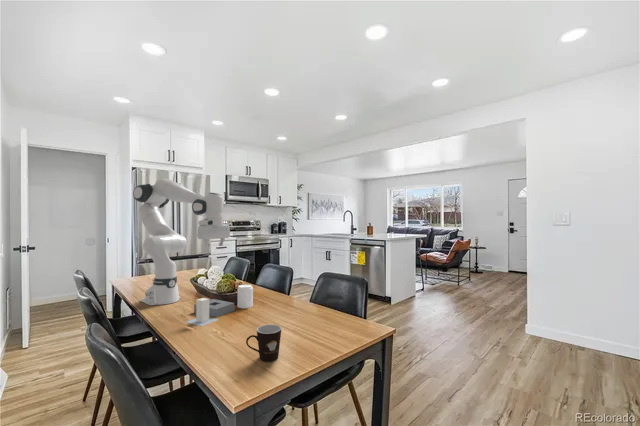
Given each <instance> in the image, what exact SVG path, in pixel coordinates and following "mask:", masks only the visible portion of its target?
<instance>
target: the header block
mask: <svg viewBox="0 0 640 426" xmlns="http://www.w3.org/2000/svg"><path fill="white" fill-rule="evenodd" d="M193 312H194V313H195V314H196V303H195V304H194V303H193ZM232 312H235V302H231V301H226V300H221V299H216V298H215V299H214V298H211V299H209V317H211V318H219V317H222V316H224V315H227V314H230V313H232Z"/></svg>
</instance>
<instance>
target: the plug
mask: <svg viewBox="0 0 640 426" xmlns="http://www.w3.org/2000/svg"><path fill="white" fill-rule="evenodd" d="M209 300H210V298H206V297H201V298H198V299H196V300H195V302H196V303H195V304H196V313H195V319H196V322H201V323H203V322H206V321H209V317H210V316H209Z"/></svg>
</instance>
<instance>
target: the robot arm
mask: <svg viewBox="0 0 640 426" xmlns="http://www.w3.org/2000/svg"><path fill="white" fill-rule="evenodd" d="M132 196H133V198H134V201H136V202H140V203H142V204H141V205H140V206H139V208H138V213H139V217H140V220H141V223H142V224H143V226H144V228H145V229H146V231H147V233H148V234H149V235H151V236H149V237H146V238H145V240H144V241H143V243H142V248H143V251H144V253H146V254H147V255H149V257H151V259H152V261H153V263H154V264H153V265H154V278H153V279H152V284H151V286H150V287H149V288H147V289H146V291H145V295H144V297H143V298H141V299H140V302H142V303H144V304H146V305H148V306H157V305H159V306H160V305H168V304H173V303H176V302H178V301H179V300H180V299H181V296H180V295H179V286H178V276H177V264H176V262H175V261H173V260H172V259H170V255H169V254H174V253H176V254H177V253H179V252H183V251H184V250H185V249H186V247H187V245H188V241H187V238H186V237H185V236H184V235H181V234H180V233H178V232H176V231H175V230H174V229H173V228H171V227H170V226H169V225H168V223H167V222H166V220H165V219H164V217H163V215H162V213H161V212H160V209H162V208H164V207H165V206H166V205H167V204H168V203H169V202H170V201H171V202H176V203H185V204H192V205H191V209H192V212H193V214H194V215H196V216H199V217H200V216H202V217H203V216H204V217H205V216H206V218H204V219H201V220H199V221H198V222H197V224H198V227H197V232H196V233H197V234H196V235H197V239H198V240H203V243H204V244H205V245H204V247H205V248H210V243H209V242H208V241H209V240H210V239H211V240H212V239H220V241H219V242H218V246H219V247H223V246H224V242H225V239H226V238H227V239H228V238H230V237H231V236H230V235H231V229H230V223H229V222H228V221H224V214H223V212H224V197H223V195H222V194H220V193H217V192H207V194H206V195H205V196H203V195H201V194H198V193H196V192H194V191H192V190H191V189H190V188H189V189H188V188H187V187H185V186H183V185H182V184H180V183H179V182H176V181H174V180H171V179H169V178H164V177H163V178H159V179H157V180H156V181H155V183H154V184H152V185H151V184H150V183H147V184H139V185H136V186H135V187H134V189H133V191H132Z"/></svg>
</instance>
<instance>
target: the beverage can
mask: <svg viewBox="0 0 640 426" xmlns="http://www.w3.org/2000/svg"><path fill="white" fill-rule="evenodd" d="M253 296H254V287H253V285H252V284H239V285H238V287H237V308H239V309H250V308H252V307H253V305H254V297H253Z"/></svg>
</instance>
